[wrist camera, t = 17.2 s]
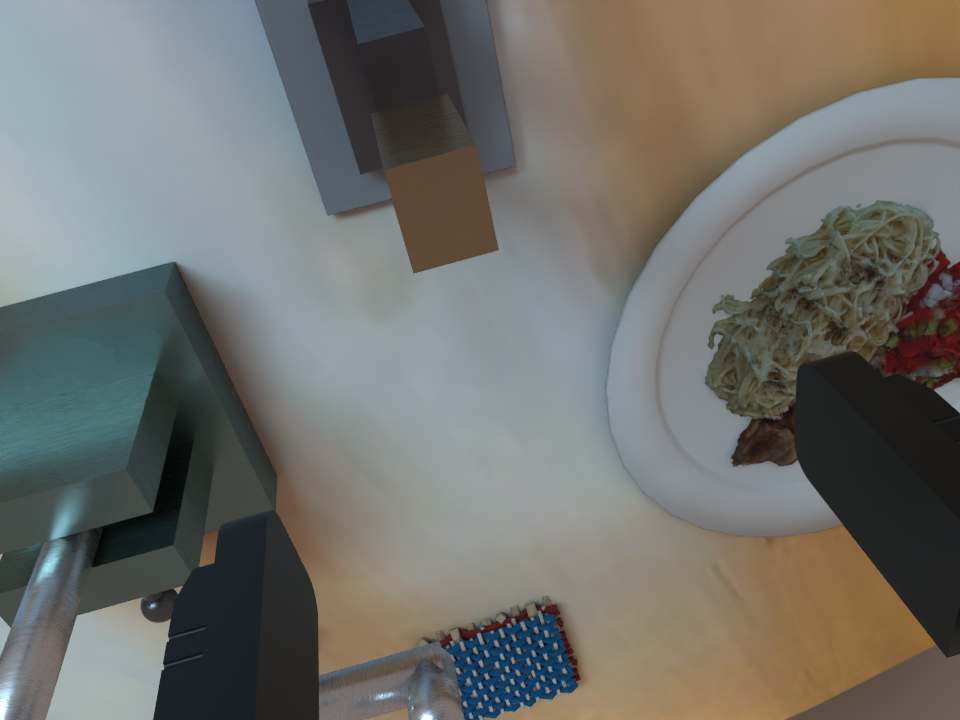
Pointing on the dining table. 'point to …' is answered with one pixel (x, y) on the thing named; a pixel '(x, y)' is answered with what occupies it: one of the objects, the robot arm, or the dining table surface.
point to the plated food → (790, 303)
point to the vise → (137, 485)
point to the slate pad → (320, 111)
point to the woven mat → (511, 661)
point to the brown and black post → (408, 121)
